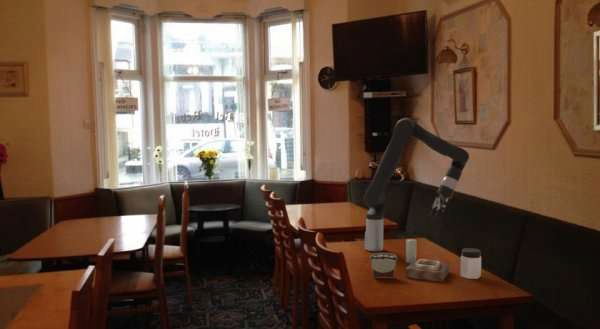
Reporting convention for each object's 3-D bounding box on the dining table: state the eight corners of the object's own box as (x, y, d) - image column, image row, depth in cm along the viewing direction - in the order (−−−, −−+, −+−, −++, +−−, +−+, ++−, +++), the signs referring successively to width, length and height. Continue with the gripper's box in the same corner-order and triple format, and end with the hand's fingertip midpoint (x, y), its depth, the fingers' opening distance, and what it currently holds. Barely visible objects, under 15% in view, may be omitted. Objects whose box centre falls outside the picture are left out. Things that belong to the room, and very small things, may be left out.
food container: (396, 274, 234) (396, 252, 233) (397, 278, 228) (397, 256, 227) (369, 273, 235) (369, 252, 234) (369, 277, 229) (369, 255, 228)
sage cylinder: (404, 262, 253) (405, 240, 252) (407, 260, 257) (407, 238, 256) (414, 263, 251) (415, 241, 250) (417, 261, 255) (417, 239, 254)
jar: (484, 277, 228) (485, 251, 227) (471, 280, 224) (471, 253, 223) (470, 272, 236) (470, 246, 235) (456, 274, 232) (457, 248, 231)
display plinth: (405, 277, 229) (406, 265, 228) (414, 268, 243) (414, 256, 243) (442, 282, 222) (442, 269, 221) (448, 272, 236) (448, 260, 236)
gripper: (436, 183, 260) (423, 212, 260) (445, 184, 246) (432, 214, 245) (449, 190, 261) (436, 219, 260) (459, 190, 246) (446, 221, 246)
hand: (434, 216), depth 253 cm, fingers open, 8 cm apart
